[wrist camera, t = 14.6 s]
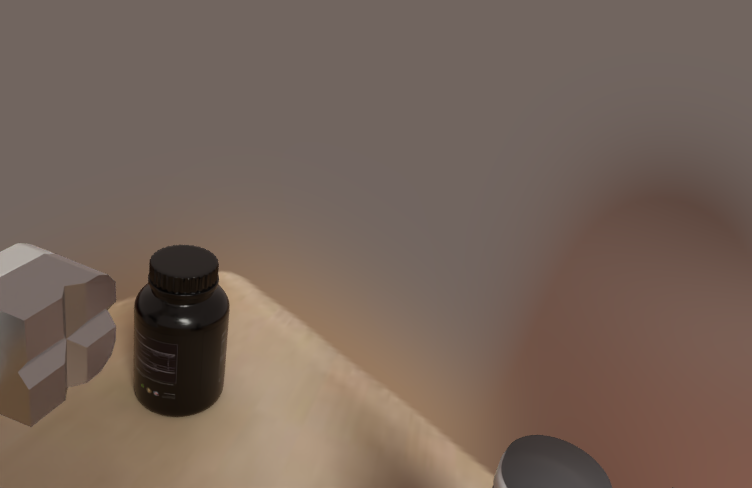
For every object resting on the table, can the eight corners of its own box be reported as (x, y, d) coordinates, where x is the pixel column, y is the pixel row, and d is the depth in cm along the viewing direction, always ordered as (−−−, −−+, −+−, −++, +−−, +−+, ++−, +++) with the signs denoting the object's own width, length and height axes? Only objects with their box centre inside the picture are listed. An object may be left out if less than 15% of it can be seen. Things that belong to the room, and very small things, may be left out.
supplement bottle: (174, 353, 60) (181, 227, 55) (239, 386, 58) (253, 259, 53) (113, 395, 55) (114, 260, 49) (183, 434, 52) (192, 297, 47)
